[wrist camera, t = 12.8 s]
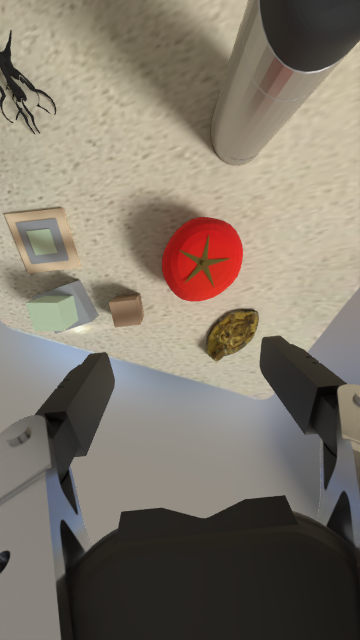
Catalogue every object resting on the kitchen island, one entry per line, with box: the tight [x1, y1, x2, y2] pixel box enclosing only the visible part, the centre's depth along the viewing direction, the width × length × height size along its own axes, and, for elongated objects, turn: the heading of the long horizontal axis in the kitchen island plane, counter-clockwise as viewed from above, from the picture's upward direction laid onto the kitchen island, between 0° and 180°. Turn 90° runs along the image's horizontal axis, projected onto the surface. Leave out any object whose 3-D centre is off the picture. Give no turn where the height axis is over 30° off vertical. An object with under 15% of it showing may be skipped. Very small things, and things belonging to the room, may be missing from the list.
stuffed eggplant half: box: [207, 309, 259, 361], centre depth 41 cm, size 9×5×15 cm
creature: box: [0, 30, 56, 134], centre depth 25 cm, size 8×5×8 cm
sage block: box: [26, 295, 78, 331], centre depth 32 cm, size 5×5×5 cm
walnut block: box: [109, 294, 144, 327], centre depth 37 cm, size 5×5×5 cm
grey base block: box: [32, 280, 98, 333], centre depth 37 cm, size 8×8×4 cm
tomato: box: [162, 217, 243, 301], centre depth 31 cm, size 14×13×10 cm
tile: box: [5, 208, 81, 273], centre depth 33 cm, size 10×10×1 cm
